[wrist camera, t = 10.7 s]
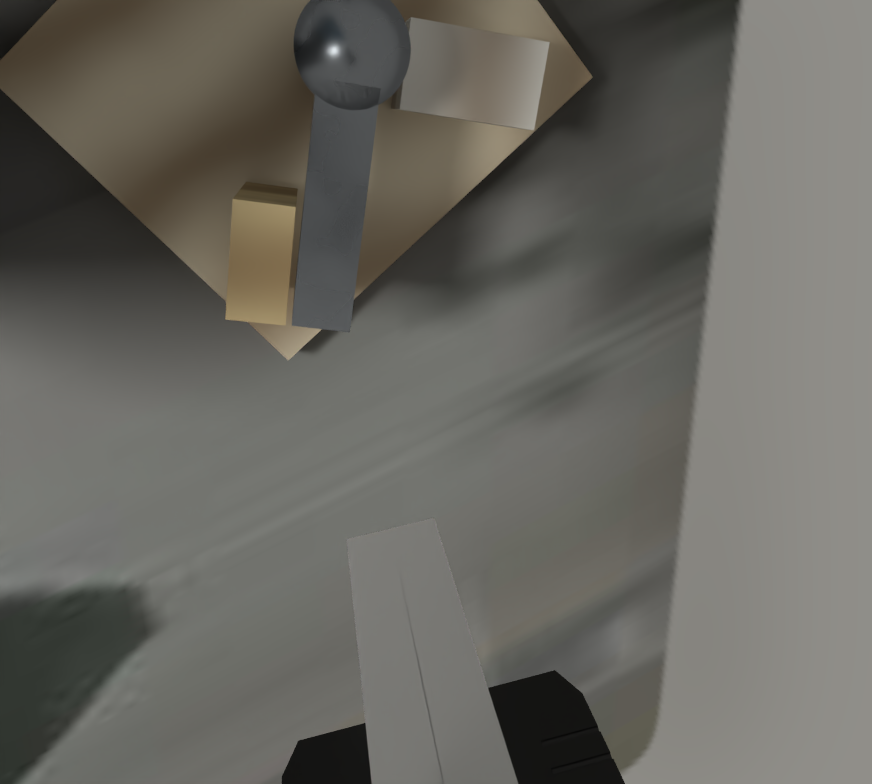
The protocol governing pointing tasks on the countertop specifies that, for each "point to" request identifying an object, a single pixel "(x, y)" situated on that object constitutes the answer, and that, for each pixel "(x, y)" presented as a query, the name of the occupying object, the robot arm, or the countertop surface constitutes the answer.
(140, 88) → the lock plate
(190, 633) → the countertop surface
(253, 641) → the countertop surface
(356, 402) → the countertop surface
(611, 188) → the countertop surface
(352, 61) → the swing bar
